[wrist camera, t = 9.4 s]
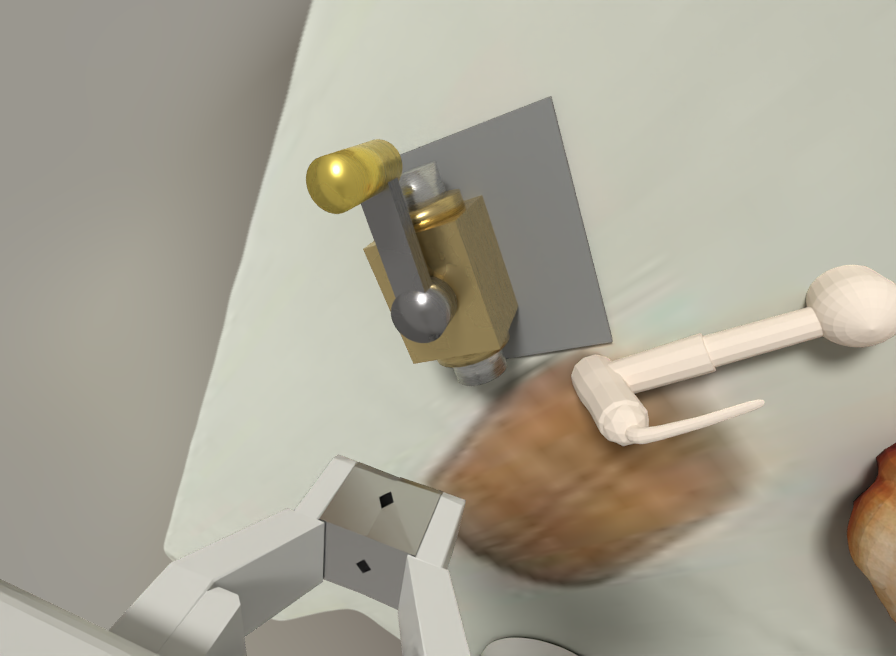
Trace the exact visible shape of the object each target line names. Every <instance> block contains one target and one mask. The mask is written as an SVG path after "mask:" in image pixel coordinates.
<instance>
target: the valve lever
mask: <svg viewBox="0 0 896 656" xmlns="http://www.w3.org/2000/svg"><path fill="white" fill-rule="evenodd" d="M402 169H403V166H402V160H401V157H400V154H399V152H398V151H397V149H396V148H395V147H394V146H393V145H392V144H390V143H389V142H387V141H385V140H380V139H377V140H372V141H369V142H366V143H362V144H359V145H356V146H353V147H350V148H347V149H343V150H340V151H337V152H334V153H331V154H328V155H324V156H321V157H319V158H317V159H315V160H314V161H313V162H312V163H311V164H310V166H309V168H308V170H307V174H306V184H307V189H308V192H309V194H310V196H311V198H312V199H313V201H314V202H315V203H316V204H317V205H318V206H319V207H320V208H321V209H323V210H325V211H327V212H329V213H333V214H340V213H344V212H346V211H348V210H350V209H351V208H353V207H355V206H357V205H359V204H361V205H362V208H363V211H364V214H365V216H366V219H367V222H368V224H369V227H370V230H371V233H372V235H373V238H374V241H375V244H376V246H377V249H378V252H379V254H380V257H381V260H382V263H383V265H384V268H385V271H386V273H387V276H388V279H389V282H390V284H391V287H392V290H393V292H394V295H395V298H396V299H395V300H394V302H393V304H392V307H391V317H392V321H393V323H394V325H395V327H396V329H397V330H398V331H399V332H400V333H401V334H402V335H403V336H404V337H406V338H407V339H409V340H411V341H414V342H417V343H429V342H433V341H435V340H437V339H438V338H439V337H440V336H441V335H442V334H443V332H444V331H445V329H446V327H447V326H448V324H449V323H450V321H451V320H452V318H453V317H454V315H455V313H456V310H457V298H456V295H455V293H454V291H453V289H452V288H451V287H450V285H449V284H448V283H446V282H445V281H444V280H442V279H440V278H438V277H435V276H430V275H429V272H428V269H427V266H426V263H425V260H424V257H423V254H422V251H421V248H420V245H419V242H418V239H417V236H416V233H415V230H414V227H413V224H412V221H411V218H410V215H409V211H408V208H407V205H406V202H405V199H404V196H403V193H402V190H401V187H400V184H399V179H400V177H401V174H402Z"/></svg>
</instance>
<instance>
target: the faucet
mask: <svg viewBox="0 0 896 656" xmlns="http://www.w3.org/2000/svg"><path fill="white" fill-rule="evenodd" d="M806 304H807V308H803V309H799V310H796V311H792V312H788V313H785V314H781V315H778V316H774V317H770V318H767V319H763V320H759V321H756V322H752V323H749V324H745V325H741V326H738V327H734V328H730V329H727V330H723V331H720V332H716V333H712V334H709V335H705V336H703V335H702V334H701V333H699V334H695V335H692V336H689V337H686V338H683V339H680V340H677V341H674V342H671V343H667V344H664V345H661V346H658V347H655V348H652V349H649V350H646V351H642V352H639V353H636V354H633V355H630V356H627V357H624V358H621V359H617V360H614V361H611V360H610V359H609V358H608V357H605V356H601V355H597V354H596V355H592V356H588V357H584V358H583V359H582V360H581V361H579V362H578V363H577V364H576V365H575V367H574V369H573V372H572V375H571V377H572V382H573V386H574V388H575V390H576V392H577V394H578V396H579V398H580V400H581V402H582V403H583V404H584V405H585V407H586V408H587V409H588V411H589V412H590V414H591V416H592V417H593V419H594V421H595V423H596V425H597V427H598V429H599V431H600V433H601V434H602V435H603V436H604V437H606V438H607V439H608V440H609V441H612V442H616V443H618V444H620V445H622V446H626V445H630V444H634V443H637V444H646V443H651V442H655V441H659V440H663V439H666V438H670V437H673V436H676V435H680V434H683V433H687V432H690V431H693V430H697V429H700V428H704V427H707V426H710V425H713V424H716V423H718V422H721V421H724V420H727V419H730V418H733V417H736V416H739V415H742V414H745V413H748V412H751V411H753V410H756V409H758V408H760V407H762V406H763V405H764V404H765V401H764V400H754V401H749V402H745V403H742V404H739V405H735V406H732V407H729V408H726V409H722V410H719V411H716V412H712V413H709V414H706V415H702V416H699V417H695V418H691V419H686V420H682V421H677V422H673V423H669V424H664V425H660V426H653V427H648V426H649V424H648V423H649V419H648V413H647V410H646V409H645V407H644V406H643V405H642V403H641V402H640V401H639V399H638V398H637V397H636V395H635V393H639V392H643V391H646V390H650V389H653V388H657V387H661V386H664V385H668V384H672V383H675V382H679V381H683V380H686V379H690V378H694V377H697V376H701V375H705V374H708V373H712V372H716V368H715V367H719V366H722V365H726V364H729V363H733V362H736V361H740V360H743V359H746V358H750V357H753V356H757V355H760V354H764V353H767V352H771V351H774V350H778V349H781V348H784V347H788V346H791V345H795V344H798V343H802V342H805V341H809V340H812V339H816V338H819V337H822V336H824V337H825V338H826V339H828V340H830V341H832V342H834V343H836V344H840V345H844V346H848V347H867V346H873V345H876V344H879V343H882V342H884V341H886V340H888V339H890V338H891V337H893V336H894V335H895V334H896V284H895V283H894V282H892V281H890V280H888V279H887V278H885V277H883V276H882V275H880V274H879V273H877V272H876V271H875V270H873V269H870V268H868V267H866V266H860V265H844V266H840V267H836V268H833V269H831V270H828V271H826V272H824V273H823V274H822V275H820V276H819V277H817V278H816V279H815V281H814V282H813V283H812V284H811V285H810V287H809V289H808V291H807V295H806Z"/></svg>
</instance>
